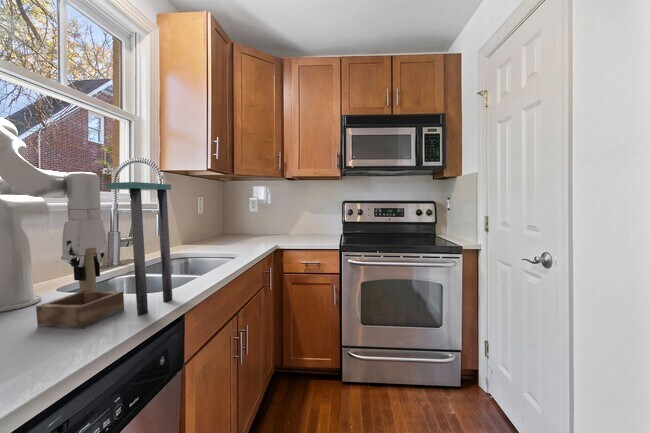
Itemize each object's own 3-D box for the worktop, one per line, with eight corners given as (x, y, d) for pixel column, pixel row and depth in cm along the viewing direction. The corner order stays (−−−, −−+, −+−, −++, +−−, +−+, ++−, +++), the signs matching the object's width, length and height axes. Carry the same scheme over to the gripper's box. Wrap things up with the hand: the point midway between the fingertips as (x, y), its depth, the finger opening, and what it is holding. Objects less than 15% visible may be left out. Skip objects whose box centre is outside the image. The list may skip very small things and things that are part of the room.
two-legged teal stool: (115, 315, 77) (106, 183, 75) (153, 298, 91) (147, 185, 89) (142, 316, 76) (134, 181, 74) (177, 298, 90) (170, 184, 88)
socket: (37, 327, 71) (35, 306, 71) (84, 308, 83) (83, 290, 83) (82, 329, 70) (81, 307, 69) (124, 310, 81) (123, 291, 81)
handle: (75, 303, 86) (73, 250, 85) (79, 297, 91) (77, 247, 90) (97, 300, 88) (95, 248, 87) (99, 294, 94) (97, 245, 93)
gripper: (98, 214, 97) (100, 271, 98) (43, 217, 80) (46, 285, 81) (119, 214, 96) (121, 272, 97) (68, 217, 79) (71, 286, 80)
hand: (87, 277), depth 89 cm, fingers closed on handle, 4 cm apart
